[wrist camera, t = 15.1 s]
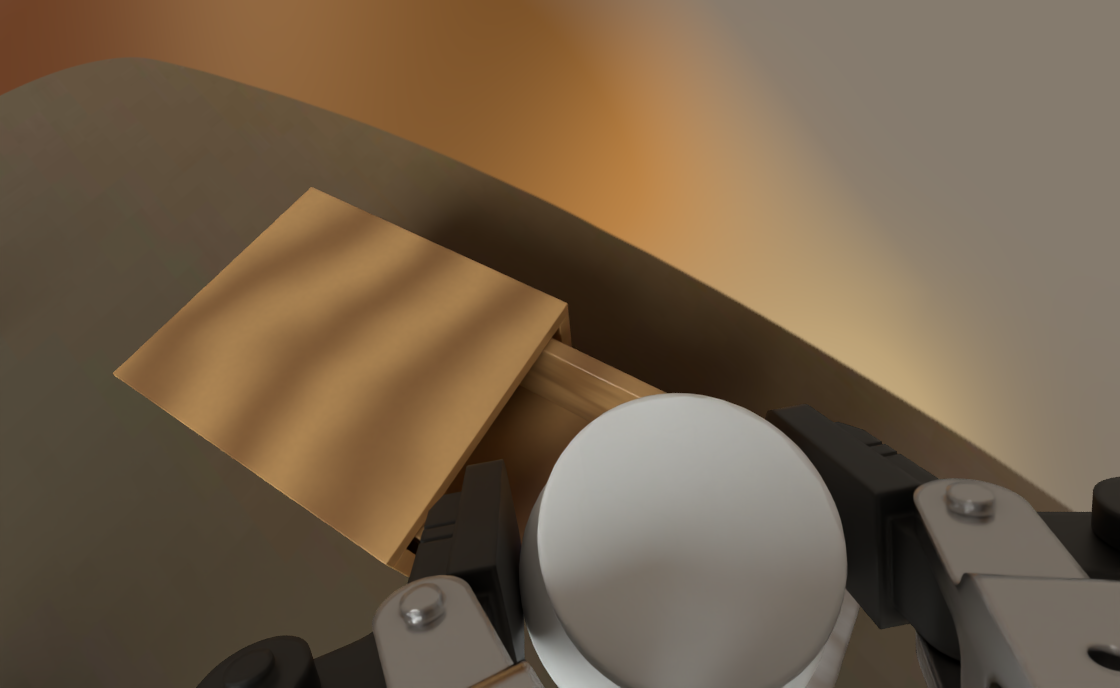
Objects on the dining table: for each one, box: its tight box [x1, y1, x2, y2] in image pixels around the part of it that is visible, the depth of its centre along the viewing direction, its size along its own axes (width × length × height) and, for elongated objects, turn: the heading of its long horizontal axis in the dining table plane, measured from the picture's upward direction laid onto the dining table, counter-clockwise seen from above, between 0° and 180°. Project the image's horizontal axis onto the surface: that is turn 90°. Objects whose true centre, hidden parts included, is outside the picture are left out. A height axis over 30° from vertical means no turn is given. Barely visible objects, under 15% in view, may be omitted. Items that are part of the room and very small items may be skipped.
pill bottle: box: [519, 393, 847, 688], centre depth 11 cm, size 5×5×9 cm
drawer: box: [413, 338, 860, 688], centre depth 25 cm, size 20×11×7 cm, turn 59°
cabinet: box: [113, 187, 572, 577], centre depth 29 cm, size 16×13×9 cm
